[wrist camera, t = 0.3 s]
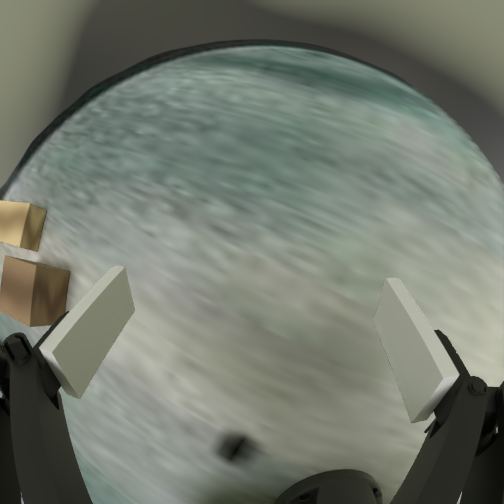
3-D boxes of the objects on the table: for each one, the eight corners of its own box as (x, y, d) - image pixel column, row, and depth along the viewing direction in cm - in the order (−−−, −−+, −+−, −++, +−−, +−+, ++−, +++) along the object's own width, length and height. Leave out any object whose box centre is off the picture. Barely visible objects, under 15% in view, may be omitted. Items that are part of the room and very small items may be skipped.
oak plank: (37, 251, 31) (19, 246, 27) (-2, 240, 31) (-18, 236, 27) (46, 211, 32) (30, 203, 28) (6, 206, 32) (-9, 199, 28)
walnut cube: (64, 323, 29) (29, 326, 22) (32, 310, 29) (-2, 310, 23) (70, 271, 30) (36, 265, 23) (38, 262, 31) (5, 255, 24)
